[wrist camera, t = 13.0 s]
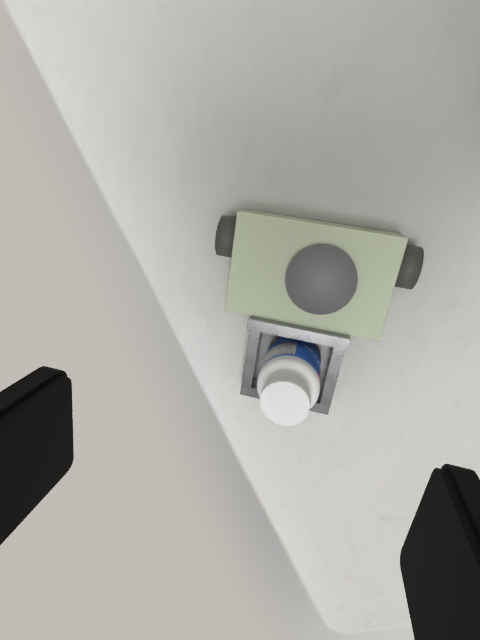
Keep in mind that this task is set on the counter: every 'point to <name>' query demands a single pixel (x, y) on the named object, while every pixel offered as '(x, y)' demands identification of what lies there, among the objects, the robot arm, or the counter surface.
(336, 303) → the green block with knobs
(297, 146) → the counter surface
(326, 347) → the gray square tray
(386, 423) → the counter surface
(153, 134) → the counter surface
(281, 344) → the pill bottle
